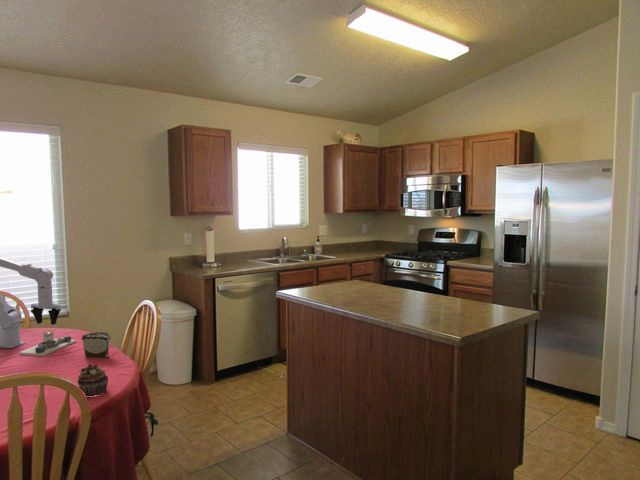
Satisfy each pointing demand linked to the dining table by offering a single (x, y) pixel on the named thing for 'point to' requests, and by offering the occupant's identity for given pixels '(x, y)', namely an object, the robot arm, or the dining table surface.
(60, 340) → the shaft
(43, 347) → the shaft
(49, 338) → the coupler
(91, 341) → the food container
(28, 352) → the shaft board
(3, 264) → the robot arm
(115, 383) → the dining table surface
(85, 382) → the cupcake
